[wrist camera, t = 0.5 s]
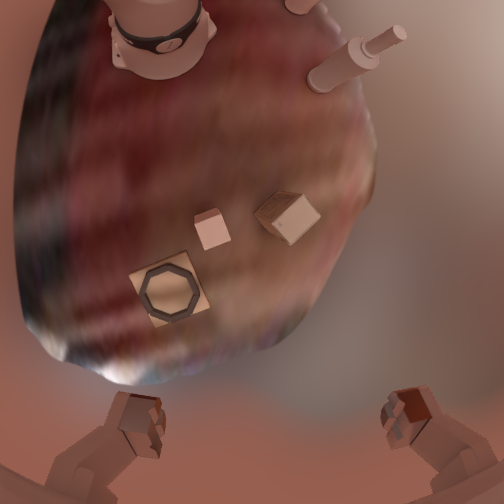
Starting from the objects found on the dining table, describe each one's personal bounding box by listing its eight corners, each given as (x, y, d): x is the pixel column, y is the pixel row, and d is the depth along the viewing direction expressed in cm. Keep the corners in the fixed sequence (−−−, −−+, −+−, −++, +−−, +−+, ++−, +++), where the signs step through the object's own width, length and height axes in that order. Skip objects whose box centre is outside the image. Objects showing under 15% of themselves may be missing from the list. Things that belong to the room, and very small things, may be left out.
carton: (194, 215, 50) (194, 224, 41) (216, 207, 50) (221, 213, 41) (203, 237, 51) (204, 250, 42) (224, 229, 51) (231, 240, 43)
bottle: (302, 69, 46) (376, 10, 23) (328, 69, 47) (409, 18, 23) (308, 94, 48) (388, 48, 24) (333, 94, 48) (421, 54, 25)
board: (129, 273, 50) (127, 278, 48) (186, 250, 51) (185, 254, 48) (156, 325, 53) (154, 331, 51) (209, 305, 54) (210, 310, 52)
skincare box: (268, 232, 53) (289, 248, 41) (251, 213, 51) (269, 225, 40) (294, 207, 53) (323, 217, 41) (279, 188, 51) (304, 193, 40)
